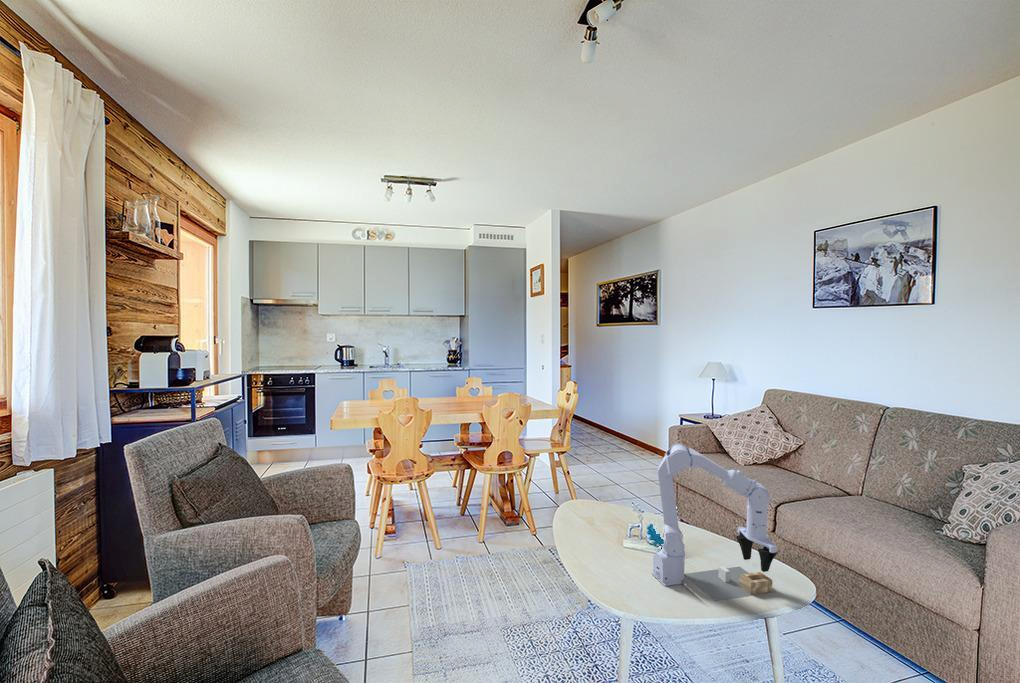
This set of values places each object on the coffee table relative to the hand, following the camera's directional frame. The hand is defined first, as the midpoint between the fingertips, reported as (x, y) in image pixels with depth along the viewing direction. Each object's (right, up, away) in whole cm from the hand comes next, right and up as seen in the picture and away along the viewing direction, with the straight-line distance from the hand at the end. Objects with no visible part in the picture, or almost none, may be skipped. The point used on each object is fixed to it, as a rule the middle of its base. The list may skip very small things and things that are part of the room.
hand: (755, 564), depth 149 cm
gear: (-21, -8, +31) cm, 38 cm away
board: (-7, -8, +3) cm, 11 cm away
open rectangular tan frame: (0, -7, 0) cm, 7 cm away
